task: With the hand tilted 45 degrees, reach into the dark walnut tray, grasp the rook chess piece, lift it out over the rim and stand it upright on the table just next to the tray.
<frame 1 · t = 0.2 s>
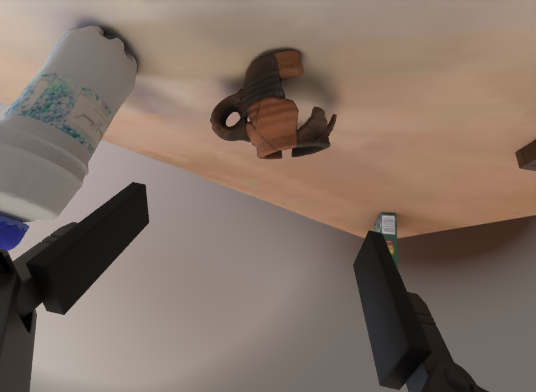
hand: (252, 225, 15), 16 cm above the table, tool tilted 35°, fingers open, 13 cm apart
coffee box: (384, 219, 50), on the table
bottle: (110, 49, 25), on the table
broken clay pot: (278, 92, 26), on the table
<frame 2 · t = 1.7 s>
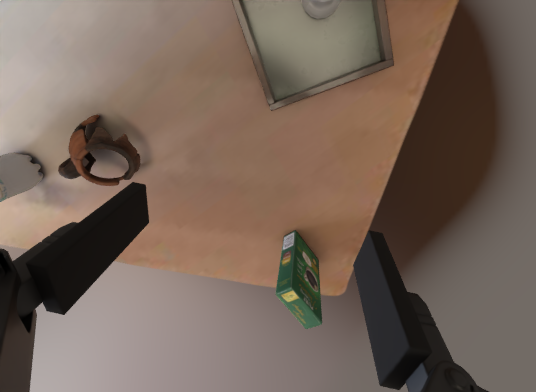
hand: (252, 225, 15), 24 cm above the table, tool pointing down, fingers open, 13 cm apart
coffee box: (300, 246, 46), on the table
bottle: (30, 166, 45), on the table
broken clay pot: (111, 147, 41), on the table
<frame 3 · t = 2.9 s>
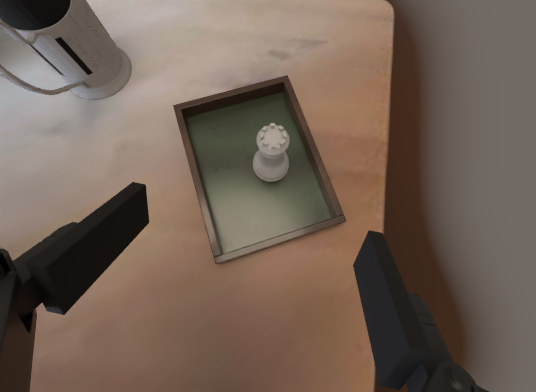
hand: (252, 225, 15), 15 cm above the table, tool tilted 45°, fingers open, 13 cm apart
glass holder: (97, 89, 34), on the table
tray: (255, 166, 32), on the table
rook chess piece: (270, 166, 32), resting on tray
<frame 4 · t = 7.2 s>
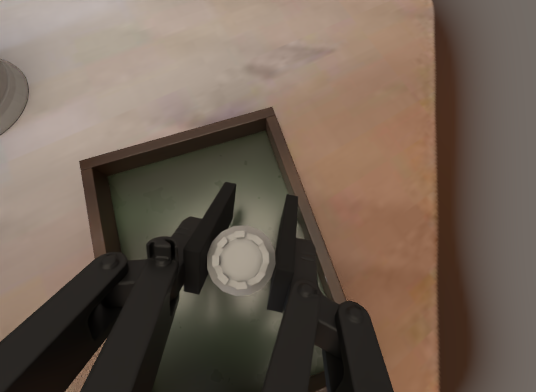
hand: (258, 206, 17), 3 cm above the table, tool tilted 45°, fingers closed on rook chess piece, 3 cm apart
tray: (219, 261, 19), on the table
rook chess piece: (244, 260, 19), resting on tray, touching gripper
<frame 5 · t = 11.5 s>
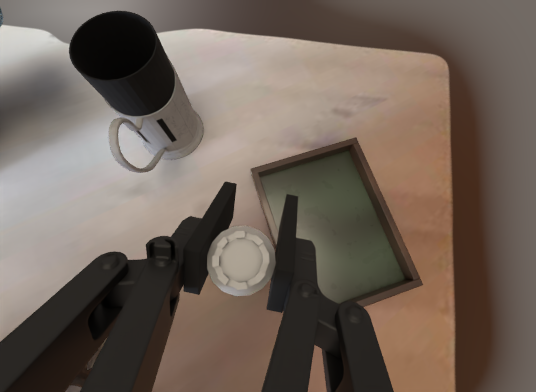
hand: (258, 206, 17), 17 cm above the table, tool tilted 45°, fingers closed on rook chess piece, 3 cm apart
glass holder: (172, 149, 36), on the table
tray: (328, 226, 34), on the table
rook chess piece: (244, 260, 19), point 14 cm above the table, touching gripper
when the fingers open (3 cm above the table, at t = 15.7 s): rook chess piece stays where it is, on the table.
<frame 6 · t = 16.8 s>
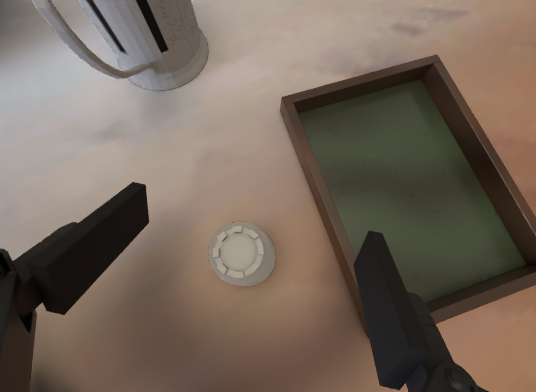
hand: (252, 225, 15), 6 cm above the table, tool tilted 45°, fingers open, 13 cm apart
glass holder: (162, 77, 25), on the table
tray: (400, 184, 22), on the table
rook chess piece: (247, 256, 20), on the table
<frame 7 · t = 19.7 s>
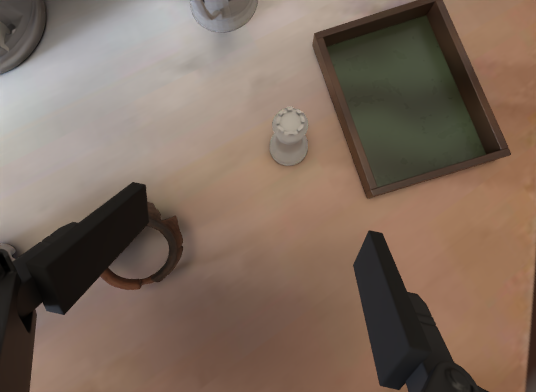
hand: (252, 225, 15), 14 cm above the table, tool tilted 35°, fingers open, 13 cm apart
glass holder: (224, 21, 33), on the table
bottle: (3, 265, 31), on the table
tray: (399, 99, 30), on the table
rook chess piece: (288, 148, 30), on the table
broken clay pot: (141, 240, 30), on the table
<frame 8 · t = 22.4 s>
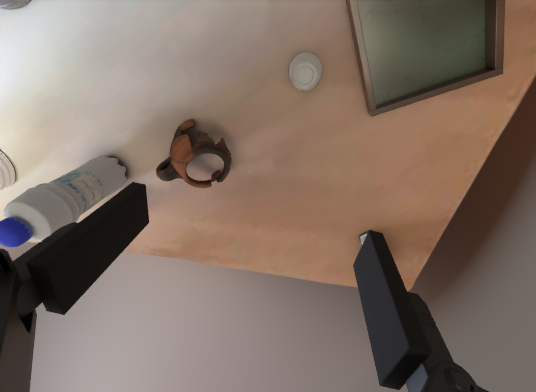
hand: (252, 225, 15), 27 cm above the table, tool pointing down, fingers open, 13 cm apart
bottle: (114, 169, 46), on the table
tray: (418, 8, 30), on the table
rook chess piece: (305, 70, 35), on the table
broken clay pot: (199, 150, 43), on the table
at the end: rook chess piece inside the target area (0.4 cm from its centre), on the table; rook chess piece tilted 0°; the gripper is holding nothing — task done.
